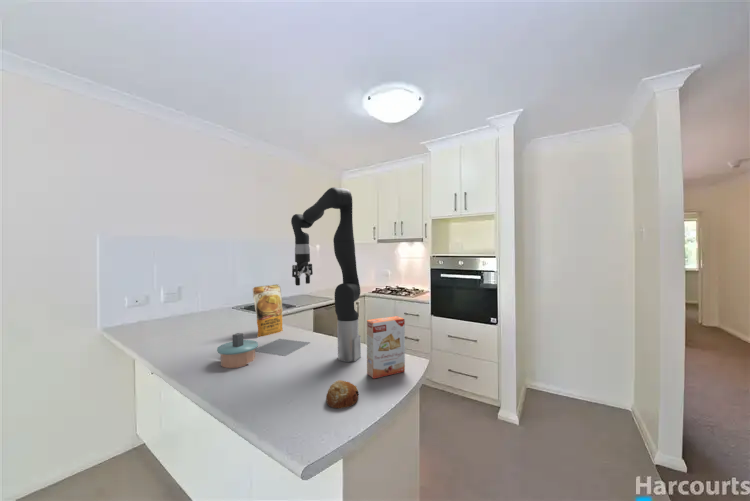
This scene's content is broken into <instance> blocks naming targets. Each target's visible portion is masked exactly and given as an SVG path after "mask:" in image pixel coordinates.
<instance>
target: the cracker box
mask: <svg viewBox="0 0 750 501" xmlns="http://www.w3.org/2000/svg"><path fill="white" fill-rule="evenodd" d="M405 320H406V319H405V318H404V317H400V316H398V315H396V316H388V317H379V318H373V319H367V320H366V374H367V375H368V376H369V377H371V378H372V379H378V378H382V377H386V376H391V375H394V374H399V373H404V372H405V370H406V368H405V367H406V365H405V363H406V360H405V359H406V357H405V356H406V354H405V353H406V351H405V350H406V349H405V347H406V346H405V342H406V341H405V340H406V339H405V338H406V337H405V335H406V334H405V333H406V332H405V331H406V329H405V323H406V321H405Z"/></svg>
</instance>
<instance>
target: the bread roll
mask: <svg viewBox="0 0 750 501" xmlns="http://www.w3.org/2000/svg"><path fill="white" fill-rule="evenodd" d="M358 390H359V389H358V387H357V386H356V385H354V383H351V382H350V381H346V380H341V379H339V380H335V381H334V382H333V383H331V385H329V388H328V389H327V393H326V398H325V399H326V400H325V402H326V403H327V405H328V406H329V407H330V408H332V409H344V408H349V407H351V406H353V405H355V404H356V403H357V401H358V399H359V395H360V393H359V391H358Z"/></svg>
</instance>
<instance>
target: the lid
mask: <svg viewBox="0 0 750 501" xmlns="http://www.w3.org/2000/svg"><path fill="white" fill-rule="evenodd" d="M256 348H259V342H257V340H250V339H244V333H240V332H237V333H234V334H232V341H229V342H226V343H223V344H220V345H219V346H218V347H217V348H216V352H217V354H220V355H221V354H224V355H232V354H240V353H245V352H249V351H252V350H254V349H256Z"/></svg>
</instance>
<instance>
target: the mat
mask: <svg viewBox="0 0 750 501" xmlns="http://www.w3.org/2000/svg"><path fill="white" fill-rule="evenodd" d="M310 344H311V342H309V341H300V340H294V339H285V338H278V339H275V340H273V341H271V342H268V343H266V344H263V345H261V346H258V347H257V348H256V349H255V353H262V354H267V355H268V354H269V355H274V356H275V355H277V356H283V357H286V356H288V355H290V354H292V353H294V352H296V351H298V350H300V349H302V348H303V347H305V346H308V345H310Z"/></svg>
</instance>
